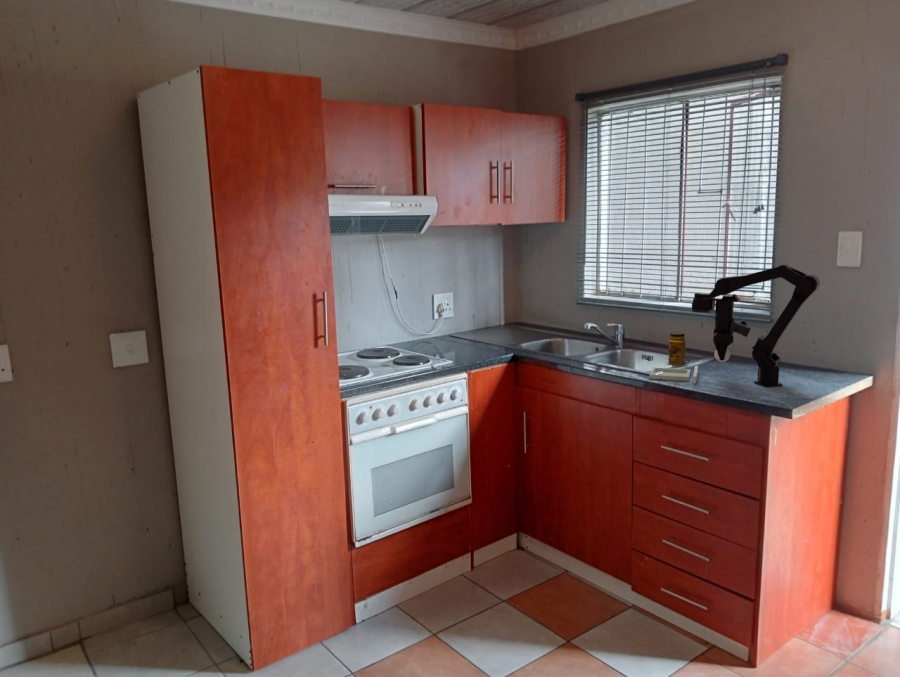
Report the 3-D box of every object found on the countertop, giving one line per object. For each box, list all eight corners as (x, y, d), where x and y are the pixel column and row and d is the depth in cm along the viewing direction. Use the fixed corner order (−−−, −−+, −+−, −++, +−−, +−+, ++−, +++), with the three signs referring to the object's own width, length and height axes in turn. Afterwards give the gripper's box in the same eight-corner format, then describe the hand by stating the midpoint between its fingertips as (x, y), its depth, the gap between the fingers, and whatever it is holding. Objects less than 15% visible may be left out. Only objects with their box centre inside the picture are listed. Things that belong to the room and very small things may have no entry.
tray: (688, 381, 235) (688, 377, 235) (649, 379, 240) (649, 374, 239) (690, 373, 247) (690, 369, 247) (652, 371, 252) (653, 367, 251)
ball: (732, 362, 234) (733, 348, 233) (719, 363, 233) (720, 349, 232) (724, 360, 239) (724, 346, 238) (711, 360, 238) (711, 346, 237)
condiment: (666, 364, 263) (667, 334, 261) (668, 360, 270) (669, 330, 268) (686, 366, 260) (687, 335, 258) (688, 361, 267) (689, 331, 265)
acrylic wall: (696, 383, 232) (696, 376, 231) (693, 383, 232) (693, 376, 232) (697, 372, 248) (698, 365, 248) (694, 372, 249) (695, 365, 248)
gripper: (751, 318, 222) (748, 365, 224) (748, 311, 239) (746, 355, 242) (714, 317, 226) (712, 363, 228) (714, 310, 243) (712, 353, 246)
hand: (722, 358), depth 236 cm, fingers closed on ball, 5 cm apart
